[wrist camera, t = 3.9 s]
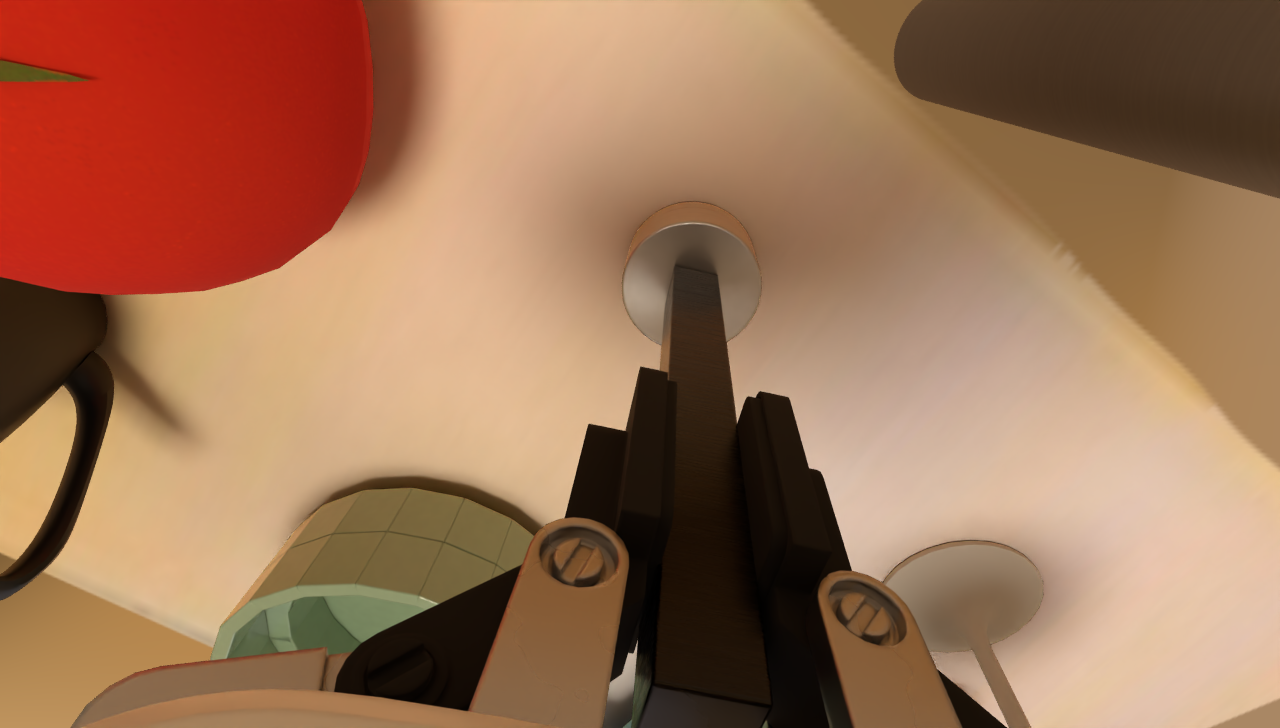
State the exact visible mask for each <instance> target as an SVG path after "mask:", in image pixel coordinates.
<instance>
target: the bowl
mask: <svg viewBox="0 0 1280 728" xmlns="http://www.w3.org/2000/svg"><path fill="white" fill-rule="evenodd" d="M533 537H534V535H532V534H531V533H530V532H529V531H527V530H526V529H525V528H524V527H522V526H521V525H520V524H518V523H517V522H516V521H515V520H513V519H511V518H509V517H507V516H505V515H502V514H500V513H498V512H496V511H493V510H491V509H489V508H487V507H484V506H482V505H480V504H478V503H476V502H473V501H471V500H469V499H467V498H465V499H464V498H463V497H458V496H453V495H448V494H443V493H438V492H433V491H427V490H422V489H417V488H393V489H374V490H364V491H363V490H362V491H360V492H357V493H354V494H351V495H349V496H346V497H343V498H340V499H338V500H335V501H332V502H329V503H327V504H324V505H323V506H321V507H320V508H319V509H318V510H317V511H316V512H314V513H313V514H312V515H311V516H310V517H309V518H308V519H307V520H306V521H304V522H303V523H302V524H301V525H300V526H299V527H298V528H297V529H296V530H295V531H294V533H293V534H292V535H291V536H290V538H289V539H288V540H287V542H286V543H285V544H284V545H283V547H282V548H281V549H280V550H279V552H278V553H277V554H276V556H275V557H274V558H273V559H272V561H271V562H270V563H269V565H268V566H267V567H266V568H265V570H264V571H263V573H261V575H260V576H259V577H258V579H257V580H256V581H255V582H254V584H253V585H252V586H251V587H250V589H249V590H248V591H247V593H246V594H245V595H244V596H243V598H242V599H241V600H240V602H239V603H238V604H237V605H236V607H235V608H234V609H233V611H232V612H231V613H230V614H229V616H228V617H227V618H226V619H225V621H224V622H223V623H222V625H221V626H220V629H219V632H218V635H217V638H216V642H215V645H214V648H213V651H212V654H211V660H218V659H227V658H235V657H244V656H252V655H261V654H269V653H278V652H286V651H295V650H303V649H312V648H320V647H327V650H328V655H331V654H340V653H348V652H353V651H354V650H355V649H356V648H357V647H358V646H359V645H360V644H361V643H362V642H364V641H366V640H367V639H369V638H370V637H372V636H374V635H375V634H377V633H379V632H381V631H383V630H385V629H387V628H389V627H391V626H393V625H395V624H398V623H400V622H402V621H404V620H406V619H408V618H410V617H412V616H414V615H416V614H419V613H421V612H423V611H425V610H427V609H429V608H431V607H433V606H435V605H437V604H440V603H442V602H444V601H446V600H448V599H450V598H452V597H454V596H456V595H459V594H461V593H463V592H465V591H467V590H469V589H471V588H473V587H475V586H477V585H480V584H482V583H484V582H486V581H488V580H490V579H492V578H494V577H496V576H498V575H501V574H503V573H505V572H507V571H509V570H511V569H513V568H515V567H517V566H520V565H522V564H523V561H524V558H525V555H526V553H527V550H528V547H529V545H530V542H531V541H532V539H533Z"/></svg>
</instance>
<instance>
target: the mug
mask: <svg viewBox="0 0 1280 728" xmlns="http://www.w3.org/2000/svg"><path fill="white" fill-rule="evenodd" d="M106 330H107V314H106V308H105V305H104V302H103V300H102V297H101V295H100V294H93V293H79V292H65V291H60V290H56V289H52V288H47V287H43V286H38V285H34V284H30V283H25V282H21V281H17V280H12V279H8V278H3V277H0V443H1V442H2V441H3V440H4V439H5V438H7V437H8V436H9V435H10V434H11V433H12V432H14V431H15V430H16V429H17V428H18V427H19V426H21V425H22V424H23V423H24V422H25V421H26V420H27V419H28V418H29V417H30V416H32V415H33V414H34V413H35V412H36V411H37V410H38V409H39V408H40V407H41V406H42V405H43V404H44V403H45V402H46V401H47V400H48V399H49V398H50V397H51V396H52V395H53V394H54V393H55V392H56V391H57V390H58V389H59V388H60V387H61V386H62V385H64V386H65V387H66V388H67V390H68V391H69V392H70V394H71V396H72V397H73V400H74V402H75V406H76V413H77V424H76V432H75V437H74V442H73V446H72V450H71V454H70V457H69V460H68V463H67V466H66V469H65V472H64V475H63V478H62V481H61V483H60V486H59V489H58V491H57V494H56V496H55V498H54V501H53V503H52V505H51V508H50V510H49V512H48V514H47V516H46V518H45V520H44V522H43V524H42V526H41V528H40V530H39V531H38V533H37V535H36V536H35V538H34V539H33V541H32V542H31V544H30V545H29V546H28V548H27V549H26V550H25V552H24V553H23V554H22V555H21V556H20V557H19V559H18V560H17V561H16V562H15V563H14V564H13V565H12V566H11V567H9V568H8V569H7V570H6V571H4V572H3V573H2V574H0V600H3V599H6V598H8V597H9V596H11V595H13V594H14V593H16V592H17V591H19V590H20V589H22V588H23V587H25V586H26V585H27V584H28V583H30V582H31V581H32V580H33V579H35V578H36V577H37V576H38V575H39V574H40V573H41V572H43V571H44V570H45V569H46V568H47V567H48V566H49V565H50V564H51V563H52V562H53V561H54V560H55V558H56V557H57V556H58V555H59V553H60V552H61V551H62V549H63V548H64V546H65V544H66V542H67V541H68V539H69V537H70V535H71V533H72V530H73V528H74V526H75V523H76V520H77V518H78V515H79V512H80V510H81V507H82V504H83V501H84V498H85V495H86V492H87V489H88V486H89V483H90V480H91V477H92V474H93V471H94V467H95V464H96V461H97V458H98V455H99V452H100V449H101V445H102V442H103V439H104V435H105V432H106V428H107V425H108V421H109V417H110V414H111V409H112V404H113V398H114V381H113V376H112V373H111V371H110V369H109V367H108V365H107V364H106V362H105V361H104V360H103V359H102V358H101V357H100V356H99V355H98V354H97V353H95V352H94V350H95V349H96V348H97V347H98V346H100V344H101V342H102V340H103V338H104V336H105V334H106Z"/></svg>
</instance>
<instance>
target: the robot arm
mask: <svg viewBox="0 0 1280 728" xmlns="http://www.w3.org/2000/svg"><path fill="white" fill-rule="evenodd" d="M676 420H677V382H676V381H671V380H668V372H664V371H659V370H654V369H650V368H645V367H640V370H639V374H638V378H637V383H636V387H635V392H634V396H633V400H632V405H631V409H630V413H629V418H628V422H627V427H626V431H622V430H617V429H612V428H607V427H602V426H597V425H593V424H588V428H587V431H586V435H585V439H584V443H583V447H582V451H581V455H580V459H579V463H578V467H577V471H576V475H575V479H574V483H573V487H572V491H571V495H570V499H569V503H568V507H567V511H566V515H565V518H564V519H559V520H556V521H554V522H551V523H548V524H546V525H545V526H544V527H543V528H541V529H540V530H539V531H538V532H536V534H535V536H534V537H533V539H532V541H531V542H530V545H529V547H528V550H527V553H526V555H525V558H524V561H523V564H522V565H520V566H517V567H515V568H513V569H511V570H509V571H507V572H505V573H503V574H501V575H498V576H496V577H494V578H492V579H490V580H488V581H486V582H484V583H482V584H480V585H477V586H475V587H473V588H471V589H469V590H467V591H465V592H463V593H461V594H459V595H456V596H454V597H452V598H450V599H448V600H446V601H444V602H442V603H440V604H437V605H435V606H433V607H431V608H429V609H427V610H425V611H423V612H421V613H419V614H416V615H414V616H412V617H410V618H408V619H406V620H404V621H402V622H400V623H398V624H395V625H393V626H391V627H389V628H387V629H385V630H383V631H381V632H379V633H377V634H375V635H374V636H372V637H370V638H369V639H367V640H366V641H364V642H362V643H361V644H360V645H359V646H358V647H357V648H356V649H355V650H354V651H353V652H348V653H340V654H331V655H328V650H327V647H320V648H312V649H303V650H295V651H286V652H278V653H269V654H261V655H252V656H244V657H235V658H227V659H218V660H210V661H201V662H193V663H185V664H176V665H167V666H160V667H156V668H152V669H148V670H144V671H140V672H136V673H134V674H132V675H130V676H128V677H126V678H124V679H122V680H120V681H118V682H116V683H114V684H113V685H110V686H109V687H108V688H106V689H105V690H104V691H103V692H102V693H100V694H99V695H98V696H97V697H96V698H94V699H93V700H92V701H91V702H90V703H88V704H87V705H86V706H85V708H84V709H83V711H82V712H81V713H80V715H79V716H78V718H77V719H76V720H75V722H74V723H73V725H72V726H71V728H602V727H603V721H604V715H605V708H606V702H607V696H608V690H609V684H610V682H611V681H612V680H614V679H615V678H617V677H618V676H620V675H621V674H622V672H623V669H624V665H625V662H626V658H627V655H628V653H634V650H635V647H636V644H637V640H638V635H639V625H640V622H641V618H642V615H643V612H644V608H645V605H646V602H647V598H648V595H649V592H650V589H651V585H652V582H653V579H654V575H655V572H656V569H657V566H658V565H659V564H660V563H661V562H662V558H663V555H664V552H665V549H666V545H667V542H668V539H669V535H670V531H671V527H672V521H673V514H674V497H675V459H676ZM737 430H738V438H739V445H740V453H741V461H742V469H743V477H744V485H745V493H746V501H747V509H748V516H749V524H750V532H751V540H752V548H753V556H754V564H755V572H756V580H757V583H758V589H759V596H760V604H761V612H762V620H763V627H764V635H765V643H766V650H767V658H768V666H769V674H770V681H771V689H772V697H773V708H772V710H771V712H770V714H769V715H768V717H767V719H766V721H765V723H764V725H763V727H762V728H1007V727H1005V726H1004V725H1003V724H1002V723H1001V722H1000V721H998V720H997V719H996V718H995V717H994V716H992V715H991V714H990V713H989V712H988V711H986V710H985V709H984V708H983V707H982V706H980V705H979V704H978V703H977V702H976V701H974V700H973V699H972V698H971V697H970V696H969V695H967V694H966V693H965V692H964V691H963V690H961V689H960V688H959V687H958V686H957V685H955V684H954V683H953V682H952V681H951V680H949V679H948V678H947V677H946V676H945V675H943V674H942V673H941V672H940V671H939V670H937V668H936V666H935V664H934V661H933V659H932V657H931V655H930V652H929V650H928V648H927V645H926V643H925V641H924V638H923V636H922V634H921V632H920V629H919V627H918V625H917V622H916V620H915V618H914V616H913V614H912V613H911V611H910V609H909V608H908V606H907V604H906V603H905V602H904V601H903V600H902V599H901V598H900V597H899V596H898V595H897V594H896V593H895V592H894V591H893V590H891V589H890V588H889V587H887V586H886V585H885V584H883V583H882V582H880V581H878V580H876V579H874V578H872V577H870V576H868V575H865V574H862V573H858V572H855V571H852V569H851V566H850V563H849V560H848V556H847V553H846V550H845V547H844V543H843V540H842V537H841V533H840V530H839V527H838V524H837V520H836V517H835V514H834V511H833V507H832V504H831V501H830V498H829V494H828V491H827V488H826V484H825V481H824V478H823V476H822V474H821V472H820V471H818V470H815V469H810V468H809V467H808V463H807V460H806V456H805V452H804V449H803V445H802V442H801V438H800V434H799V431H798V427H797V424H796V420H795V417H794V413H793V409H792V406H791V402H790V399H789V397H785V396H780V395H775V394H771V393H766V392H761V391H760V392H759V393H758V394H757V396H756V398H754V397H749V396H748V397H747V398H746V400H745V403H744V405H743V408H742V411H741V414H740V417H739V420H738V423H737Z"/></svg>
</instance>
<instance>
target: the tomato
mask: <svg viewBox="0 0 1280 728" xmlns="http://www.w3.org/2000/svg"><path fill="white" fill-rule="evenodd" d="M372 119H373V66H372V57H371V48H370V39H369V30H368V21H367V17H366V14H365V10H364V6H363V3H362V0H0V277H3V278H8V279H12V280H17V281H21V282H25V283H30V284H34V285H38V286H43V287H47V288H52V289H56V290H60V291H65V292H79V293H93V294H107V295H126V294H163V293H178V292H193V291H205V290H209V289H213V288H217V287H221V286H225V285H229V284H233V283H237V282H241V281H244V280H246V279H249V278H252V277H255V276H258V275H261V274H264V273H266V272H269V271H272V270H275V269H278V268H280V267H281V266H283V265H284V264H285V263H287V262H288V261H289V260H291V259H292V258H294V257H295V256H296V255H298V254H299V253H300V252H302V251H303V250H304V249H306V248H307V247H308V246H310V245H311V244H313V243H314V242H315V241H317V240H318V239H319V238H321V237H322V236H323V235H325V234H326V233H328V232H329V231H330V230H331V229H332V227H333V226H334V224H335V223H336V221H337V220H338V218H339V216H340V215H341V213H342V212H343V210H344V209H345V207H346V206H347V204H348V202H349V201H350V199H351V197H352V196H353V194H354V192H355V191H356V189H357V187H358V185H359V183H360V180H361V176H362V173H363V169H364V166H365V162H366V159H367V155H368V152H369V145H370V136H371V128H372Z"/></svg>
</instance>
